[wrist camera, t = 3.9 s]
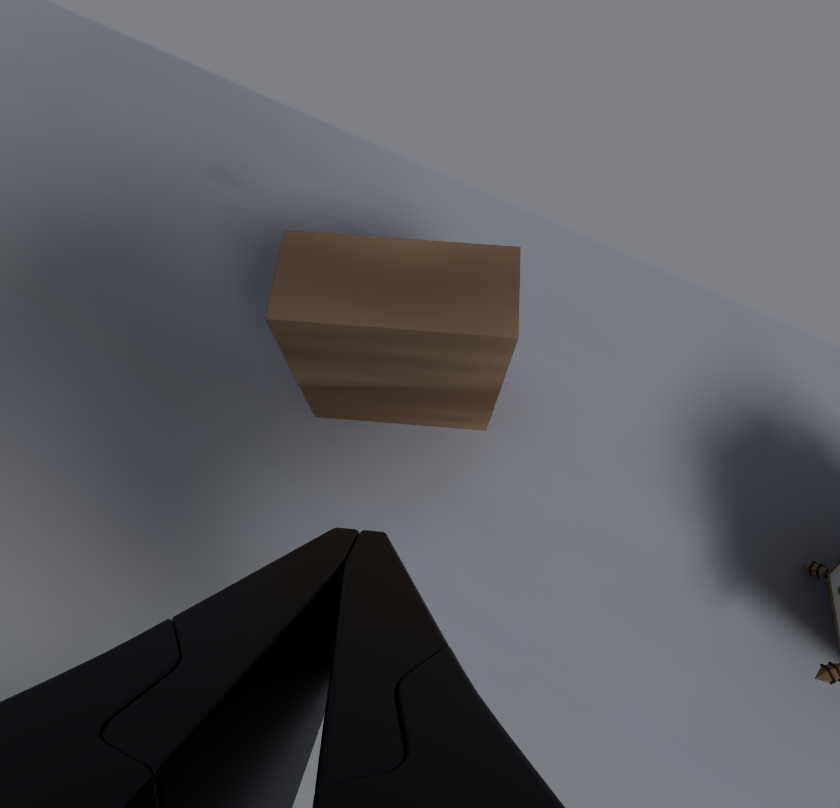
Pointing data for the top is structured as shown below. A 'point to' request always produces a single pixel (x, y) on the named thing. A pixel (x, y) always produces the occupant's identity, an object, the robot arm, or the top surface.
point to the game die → (836, 577)
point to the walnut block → (396, 326)
